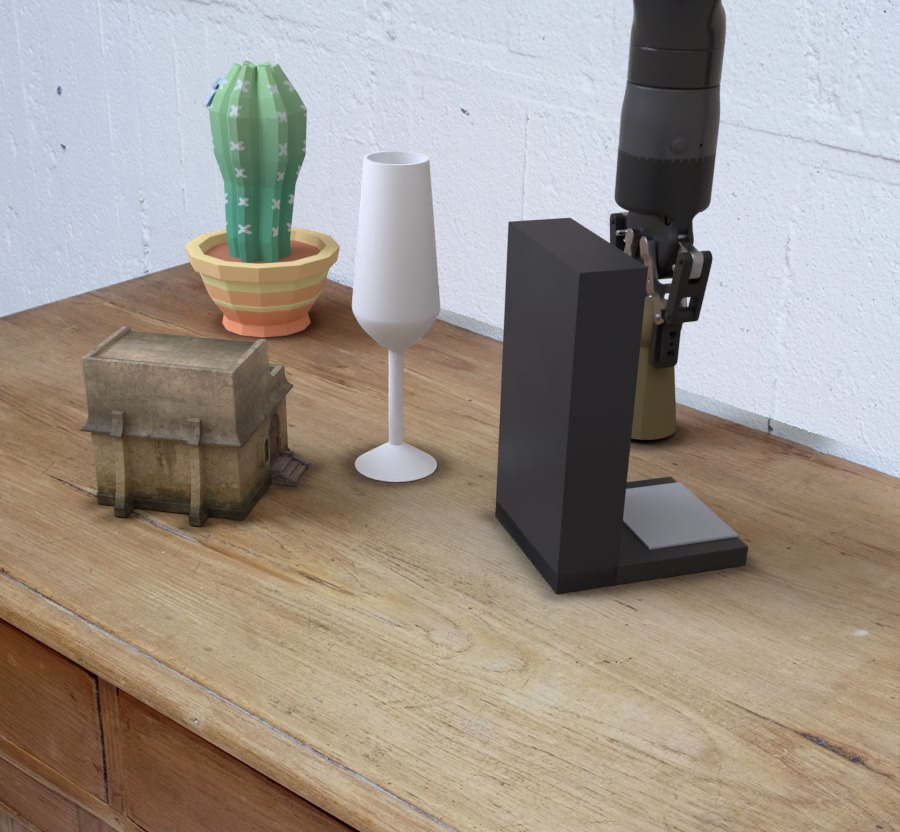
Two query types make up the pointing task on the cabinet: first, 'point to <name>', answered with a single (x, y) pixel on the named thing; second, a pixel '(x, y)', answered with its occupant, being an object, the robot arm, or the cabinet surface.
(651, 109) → the robot arm
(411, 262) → the champagne flute
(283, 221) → the potted cactus
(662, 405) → the olive pawn figure
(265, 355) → the miniature house
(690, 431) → the cabinet surface
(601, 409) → the coffee maker
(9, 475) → the cabinet surface
